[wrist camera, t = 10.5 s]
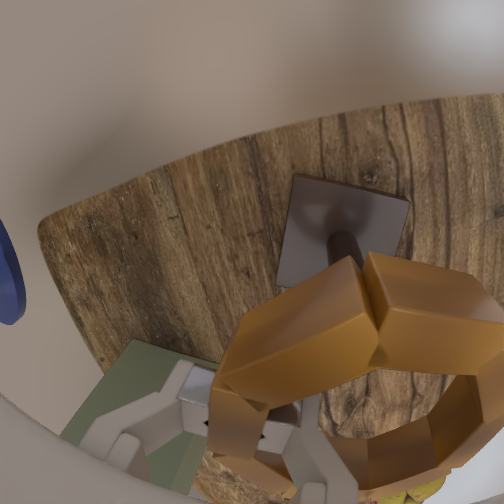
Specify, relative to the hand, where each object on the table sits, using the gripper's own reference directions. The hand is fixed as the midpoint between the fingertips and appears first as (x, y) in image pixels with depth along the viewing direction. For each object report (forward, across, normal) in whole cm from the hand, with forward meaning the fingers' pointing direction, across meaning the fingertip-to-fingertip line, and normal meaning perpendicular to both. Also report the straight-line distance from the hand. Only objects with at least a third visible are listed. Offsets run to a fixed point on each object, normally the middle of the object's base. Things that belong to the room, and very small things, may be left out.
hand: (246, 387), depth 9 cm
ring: (+1, -4, 0) cm, 4 cm away
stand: (+16, -4, 0) cm, 17 cm away
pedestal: (+16, +10, +22) cm, 29 cm away
